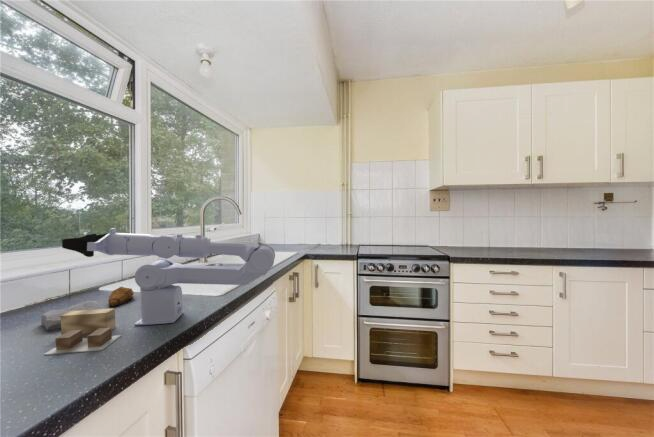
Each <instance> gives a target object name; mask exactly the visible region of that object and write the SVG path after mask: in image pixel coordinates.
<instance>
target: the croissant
mask: <svg viewBox="0 0 654 437" xmlns="http://www.w3.org/2000/svg"><path fill="white" fill-rule="evenodd" d="M134 294H135V292H134V291H133V289H132V288H130V287H129V288H128V287H124V286H120V287H118V288H116V289H114V290H113V291H111V293H110V295H109V296H108V300H107V301H108V304H109V305H110V307H111V308H115V307H117V306H121V305H123V304H125V303H126V302H128V301H130V300H131V299H132V297H133V296H134Z"/></svg>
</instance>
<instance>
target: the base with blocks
mask: <svg viewBox="0 0 654 437" xmlns="http://www.w3.org/2000/svg"><path fill="white" fill-rule="evenodd" d="M121 337H122V335H121V334H118V335H113V334H112V330H111V328H99V329H98V330H96V331H94V332H93V333H91V334H87V337H84V336H83V334H82V330H71V331H68V332H66V333H65V334H63V335H62V334H61V335H59V336H57V337H56V338H55V347H54V348H52V349H49V351H46V352H45V353H43V356H48V355H51V356H53V355H61V354H63V355H64V354H72V353H73V354H74V353H85V352H86V353H89V352H95V351H96V352H97V351H99V352H100V351H104V350H105V349H106V348H108V347H109V346H110V345H112V344H113V343H114V342H115V341H117V340H118V339H119V338H121Z"/></svg>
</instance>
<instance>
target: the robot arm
mask: <svg viewBox="0 0 654 437" xmlns="http://www.w3.org/2000/svg"><path fill="white" fill-rule="evenodd" d="M61 242H62V244H61V247H62V249H66V250H70V251H73V252H77V253H79V254H81V255H83V256H85V257H88V258H91V257H94V256H95V252H99V253H102V254H105V255H107V256H115V255H116V256H117V255H118V256H141V257H142V256H144V257H145V256H147V257H149V256H157V257H159V259H157V260H155V261H153V262H150V263H147V264H143V265H141V266H140V267H138V268H137V270H136V272H135V274H134V281H135V284H136V285H137V286H138V287H139V288H140V290H139V292H140V313H141V314H140V317H141V318H140V319H139V320H137V321H136V322H135V323H134V324H133V325H134V326H147V325H148V326H149V325H160V324H172V323H173V324H174V323H175V322H176V321H177V320H178V319H179V318H180V316H182V315H183V314H184V312H185V311H184V310H183V309H184V307H183V290H182V289H183V288H182V287H181V286H180V285H176V284H190V285H191V284H193V285H202V284H203V285H225V286H227V285H228V286H229V285H230V286H246V285H249V284H250V283H252V282H253V281H254V282H255V280H257V279H259V278H260V277H263V276H266V274H268V273H269V271H270V270H271V269H272V267H273V266H274V263H275V258H276V252H275V250H274V248H273V247H272V246H270V245H267V244H262V245H260V243H255V242H253V243H252V242H234V241H231V242H229V241H228V242H227V241H225V242H224V241H223V242H222V241H211V240H210V239H209V238H208V237H206V236H203V235H202V234H195V236H192V235H191V236H190V235H183V234H182V233H178V234H177V235H176V234H174V233H170V234H167V235H159V234H151V233H150V234H148V233H130V232H129V233H127V232H118V231H117V228H116V227H112V228H110V229H109V231H108V232H107V233H104V234H103V233H101V234H97V233H90V234H89V233H88V234H86V235H84V236H80V237H70V238H64V239H62V241H61ZM209 254H211V255H222V256H233V257H234V256H237V257H239V258H240V259H242V260H243V261H244V263H243V264H242V265H241V266H229V265H228V266H227V265H226V266H225V265H199V264H197V265H196V264H183V263H179V262H172V261H170V260H168V259H170V258H172V257H174V256H177V257H179V258H191V259H192V258H194V259H205V258H206V257H208V256H209Z"/></svg>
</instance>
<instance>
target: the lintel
mask: <svg viewBox="0 0 654 437" xmlns="http://www.w3.org/2000/svg"><path fill="white" fill-rule="evenodd" d="M116 327H117V326H116V308H115V307H111V308H101V309H96V310H80V311H70V312H68V313H66V314H63V315H61V328H60V329H61V330H60V332H61V335H63V334H65V333H66V332H68V331H71V330H82V335H90V334H91V333H93V332H94V331H96V330H98V329H99V328H111V331H112V330H113V329H115V328H116Z"/></svg>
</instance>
